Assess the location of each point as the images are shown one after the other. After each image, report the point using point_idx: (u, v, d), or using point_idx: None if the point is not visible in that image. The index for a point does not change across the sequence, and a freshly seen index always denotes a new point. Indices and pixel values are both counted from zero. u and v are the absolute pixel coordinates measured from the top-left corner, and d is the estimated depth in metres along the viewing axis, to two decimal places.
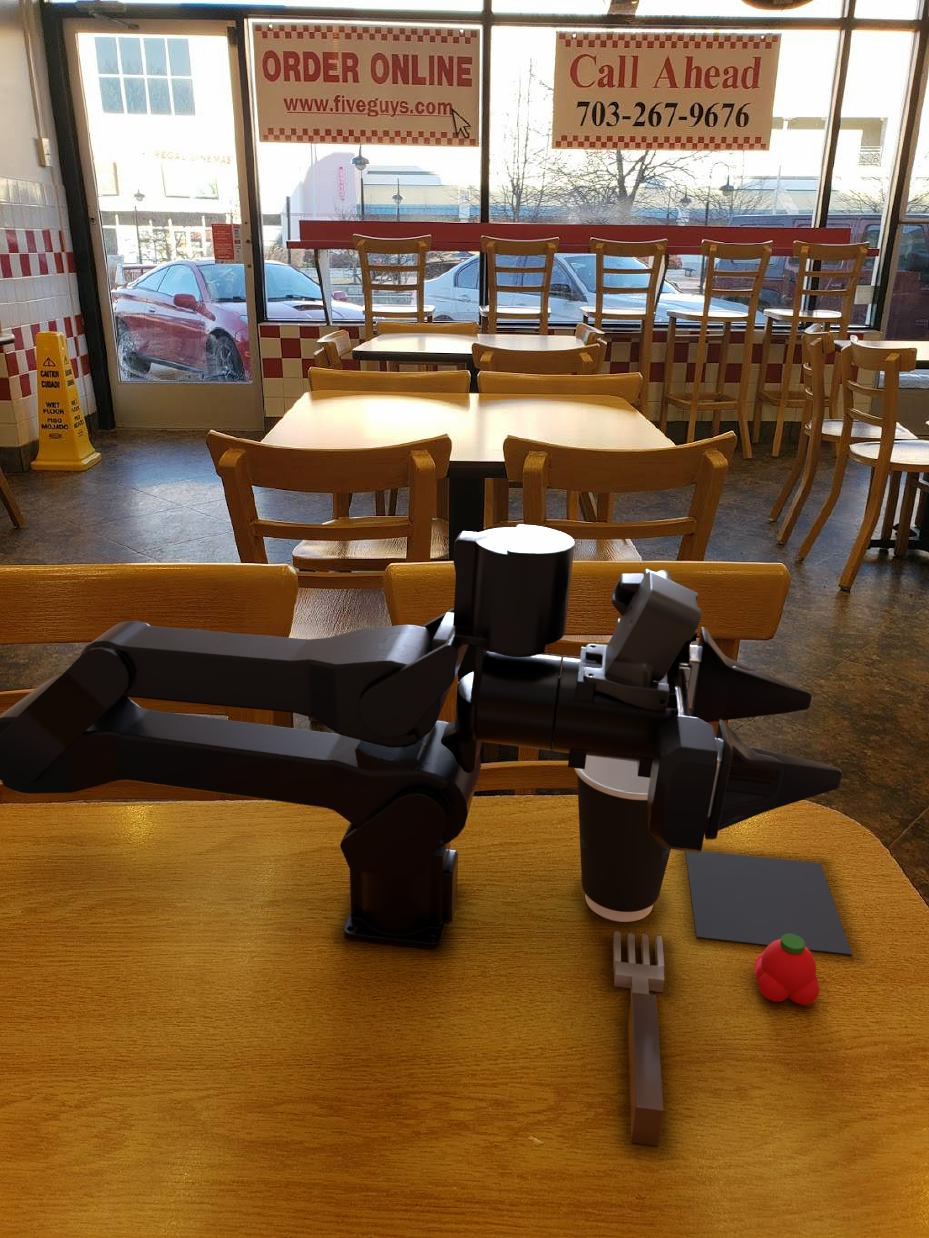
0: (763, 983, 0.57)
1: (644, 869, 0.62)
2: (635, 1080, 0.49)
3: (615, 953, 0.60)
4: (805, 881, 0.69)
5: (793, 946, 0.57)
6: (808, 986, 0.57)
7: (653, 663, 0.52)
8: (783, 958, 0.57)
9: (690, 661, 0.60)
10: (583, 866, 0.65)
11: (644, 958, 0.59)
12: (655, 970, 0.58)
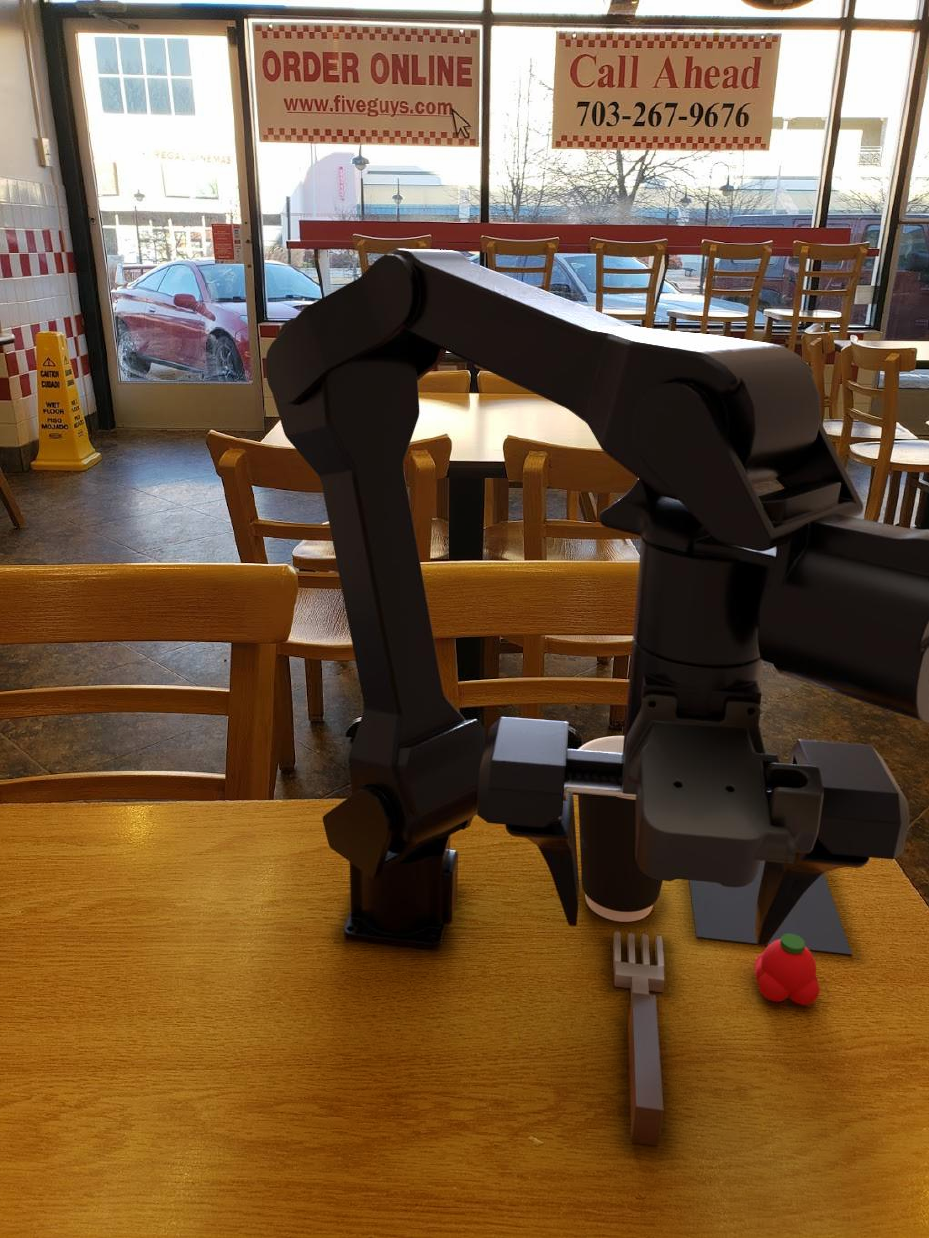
0: (763, 983, 0.57)
1: None
2: (635, 1080, 0.49)
3: (615, 953, 0.60)
4: None
5: (793, 946, 0.57)
6: (808, 986, 0.57)
7: (637, 790, 0.39)
8: (783, 958, 0.57)
9: None
10: (583, 866, 0.65)
11: (644, 958, 0.59)
12: (655, 970, 0.58)
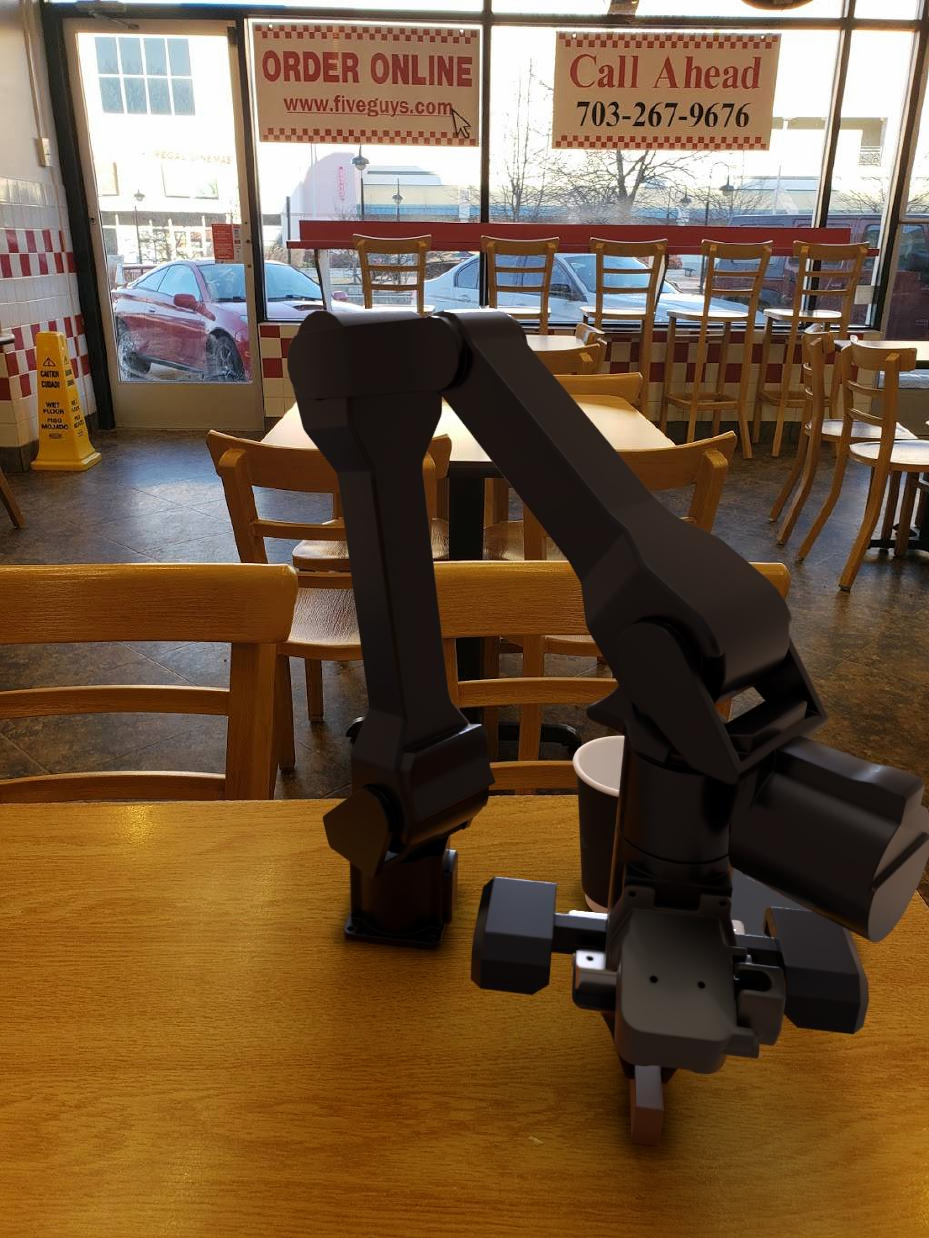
0: None
1: None
2: (635, 1080, 0.49)
3: None
4: None
5: None
6: None
7: (617, 973, 0.43)
8: None
9: None
10: (583, 866, 0.65)
11: None
12: None
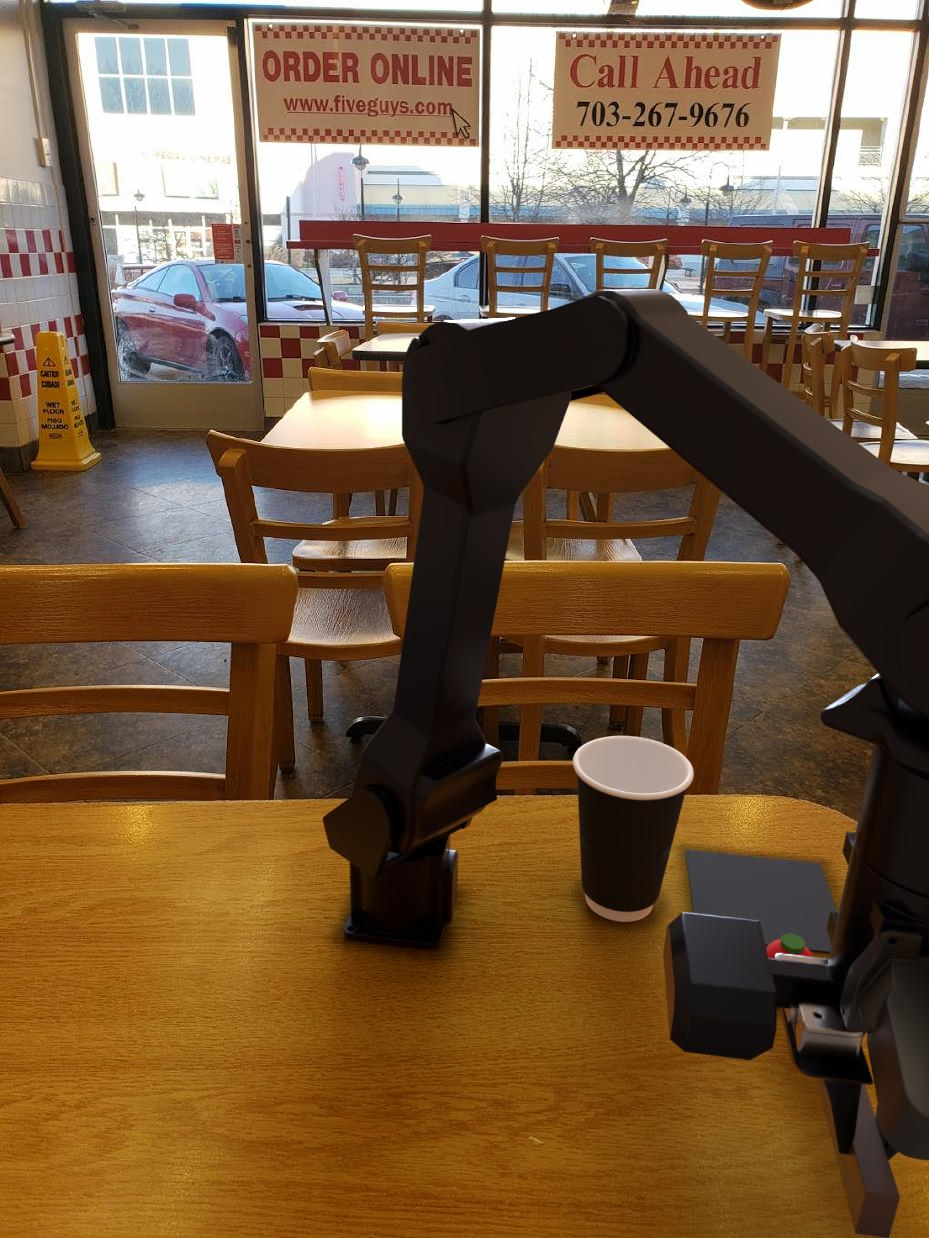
0: None
1: (644, 869, 0.62)
2: (856, 1157, 0.41)
3: None
4: (805, 881, 0.69)
5: (793, 946, 0.57)
6: None
7: (874, 1038, 0.34)
8: None
9: None
10: (583, 866, 0.65)
11: None
12: None
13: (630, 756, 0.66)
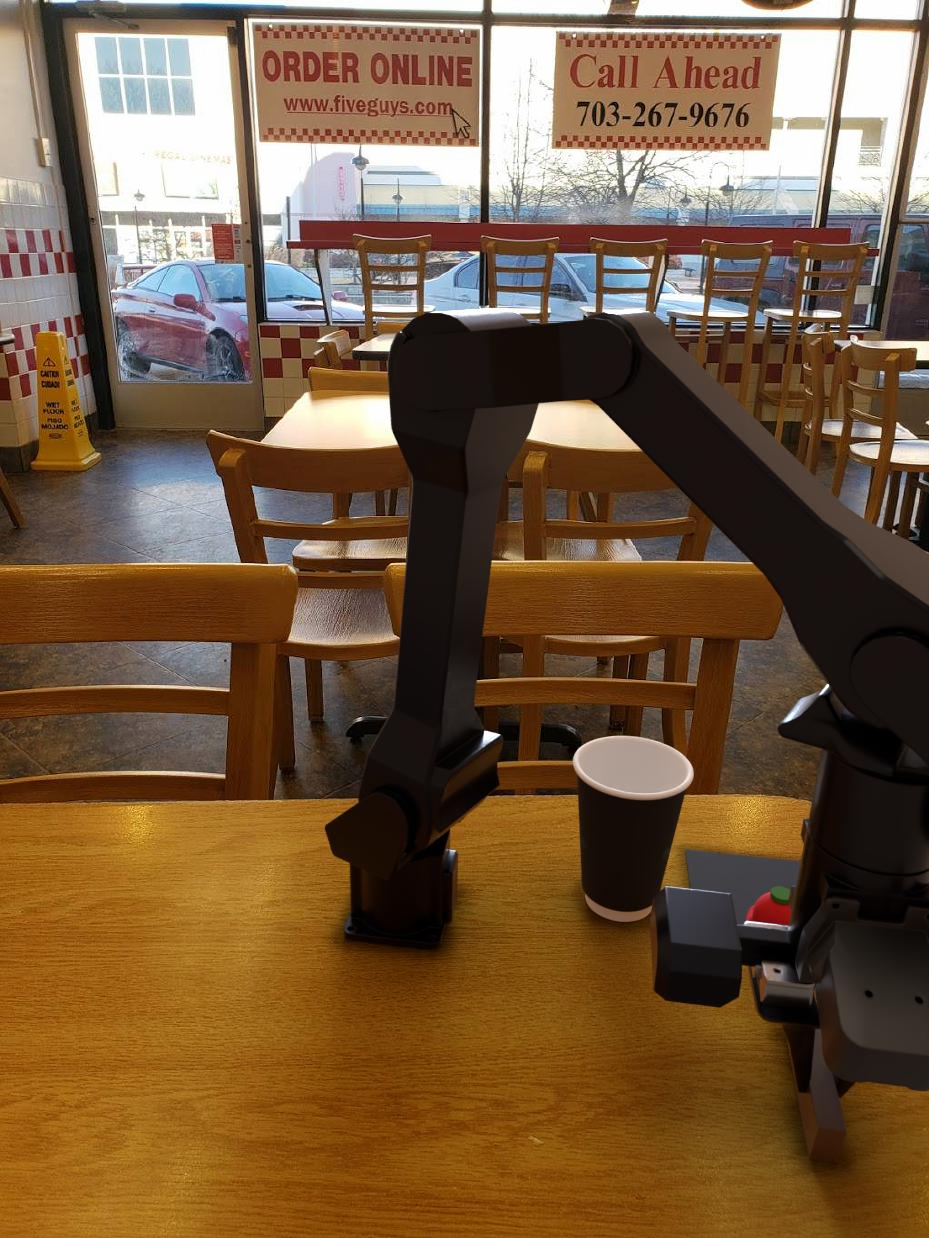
0: None
1: (644, 869, 0.62)
2: (812, 1098, 0.48)
3: None
4: None
5: (782, 897, 0.61)
6: None
7: (820, 986, 0.42)
8: (772, 908, 0.61)
9: None
10: (583, 866, 0.65)
11: None
12: None
13: (630, 756, 0.66)
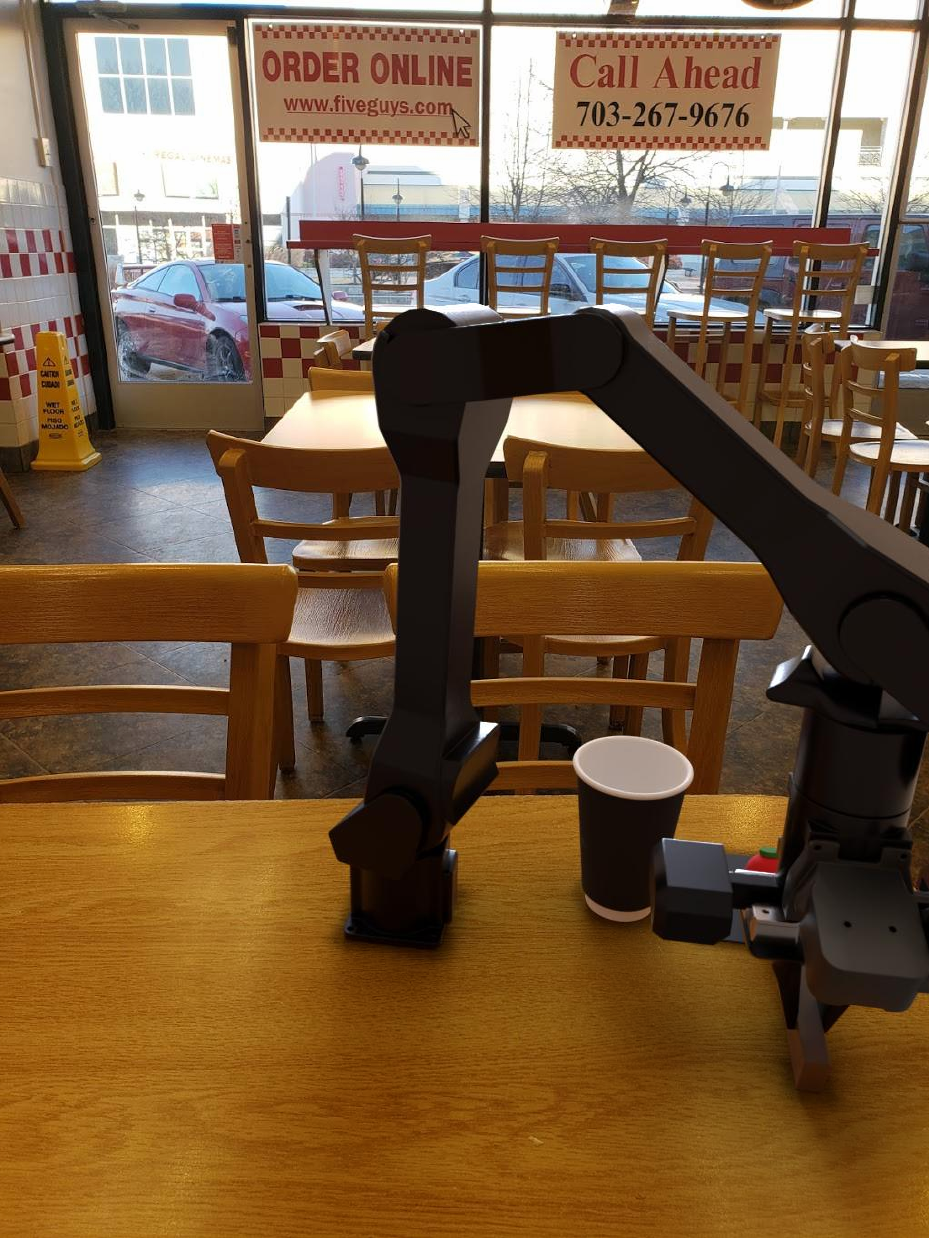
0: None
1: (644, 869, 0.62)
2: (799, 1034, 0.52)
3: None
4: None
5: (770, 852, 0.65)
6: None
7: (803, 921, 0.46)
8: (762, 862, 0.65)
9: None
10: (583, 866, 0.65)
11: None
12: None
13: (630, 756, 0.66)
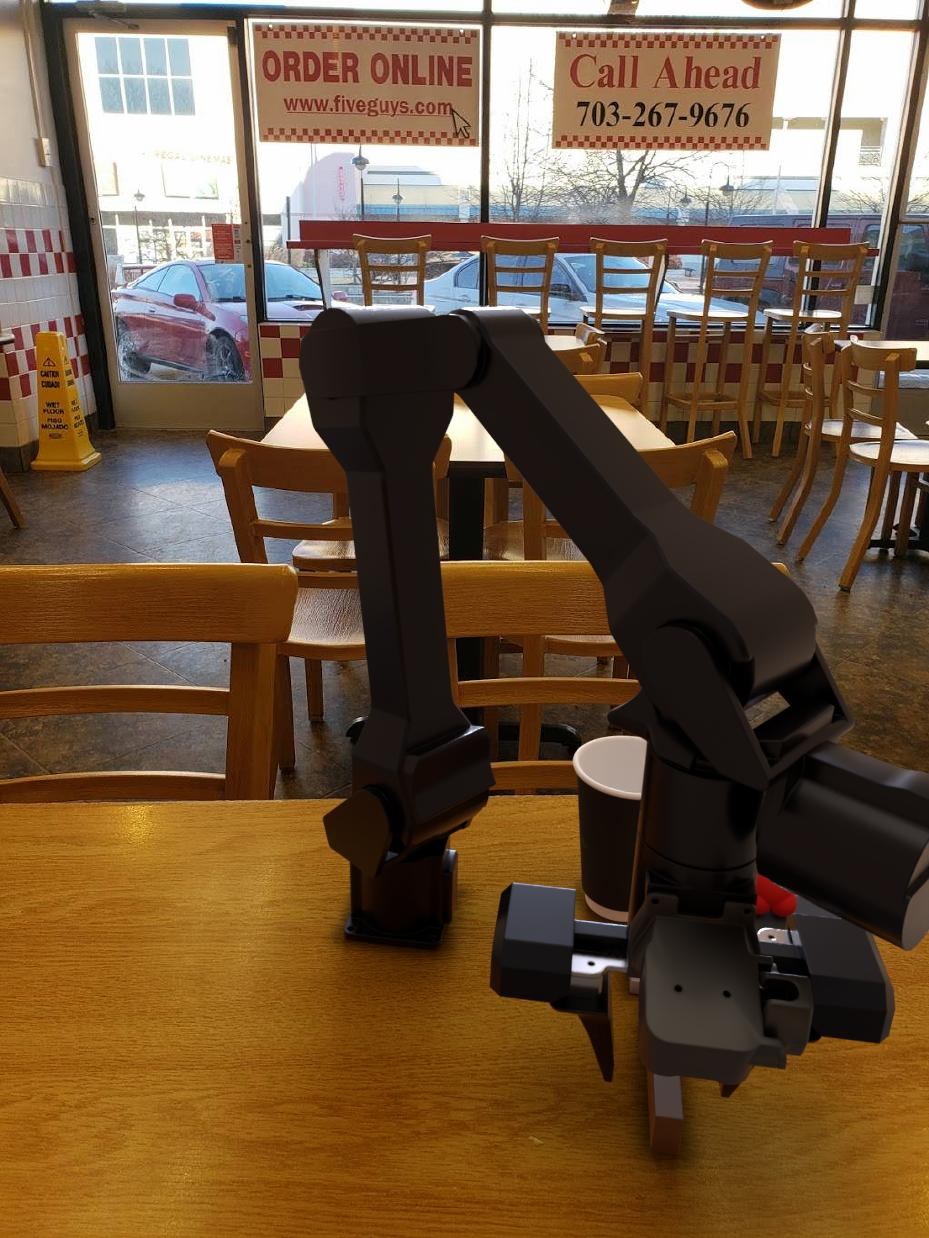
0: None
1: None
2: (654, 1089, 0.48)
3: None
4: None
5: None
6: (787, 900, 0.64)
7: (640, 981, 0.42)
8: None
9: None
10: (583, 866, 0.65)
11: None
12: None
13: (630, 756, 0.66)
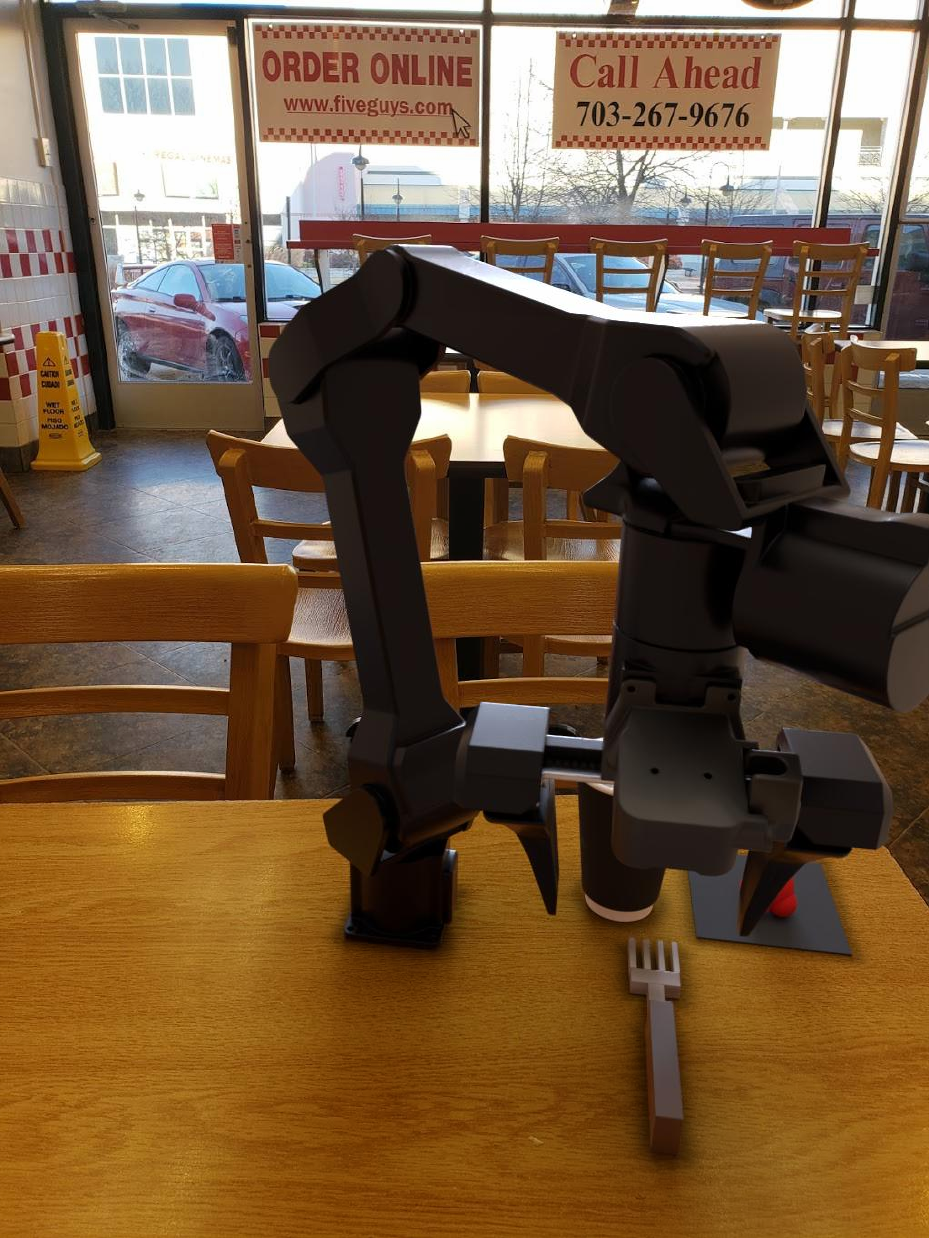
0: None
1: (644, 869, 0.62)
2: (654, 1089, 0.48)
3: (630, 959, 0.59)
4: (805, 881, 0.69)
5: None
6: (787, 900, 0.64)
7: None
8: None
9: None
10: (583, 866, 0.65)
11: (660, 964, 0.59)
12: (671, 977, 0.58)
13: None
